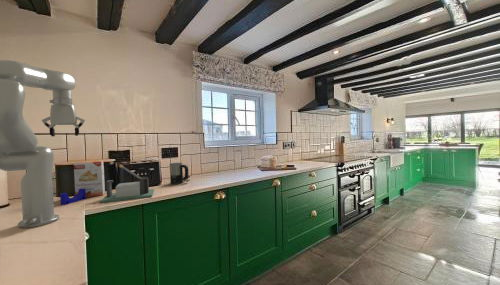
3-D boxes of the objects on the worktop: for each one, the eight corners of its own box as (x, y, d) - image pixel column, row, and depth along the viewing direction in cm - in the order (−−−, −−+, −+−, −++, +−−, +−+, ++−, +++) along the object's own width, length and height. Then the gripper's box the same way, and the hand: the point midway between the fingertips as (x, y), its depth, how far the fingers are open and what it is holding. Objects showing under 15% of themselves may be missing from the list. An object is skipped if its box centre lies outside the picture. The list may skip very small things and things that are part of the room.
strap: (143, 181, 137) (144, 179, 137) (142, 181, 134) (144, 180, 134) (119, 165, 133) (120, 164, 133) (118, 166, 130) (119, 164, 130)
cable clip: (79, 198, 132) (78, 188, 132) (85, 198, 132) (85, 188, 131) (58, 204, 121) (57, 193, 121) (65, 205, 120) (64, 193, 120)
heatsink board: (151, 197, 129) (150, 179, 129) (100, 203, 120) (99, 184, 120) (153, 190, 146) (152, 174, 146) (109, 195, 137) (108, 178, 137)
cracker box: (75, 198, 132) (73, 163, 132) (78, 196, 138) (76, 162, 137) (103, 195, 137) (101, 161, 137) (105, 193, 143) (103, 160, 142)
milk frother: (169, 184, 163) (168, 164, 163) (172, 180, 179) (171, 161, 178) (189, 183, 166) (188, 163, 166) (190, 179, 182) (189, 160, 181)
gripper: (38, 101, 109) (40, 136, 110) (82, 102, 117) (84, 135, 118) (43, 103, 116) (45, 136, 116) (84, 104, 124) (86, 135, 124)
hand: (65, 136), depth 117 cm, fingers open, 9 cm apart
